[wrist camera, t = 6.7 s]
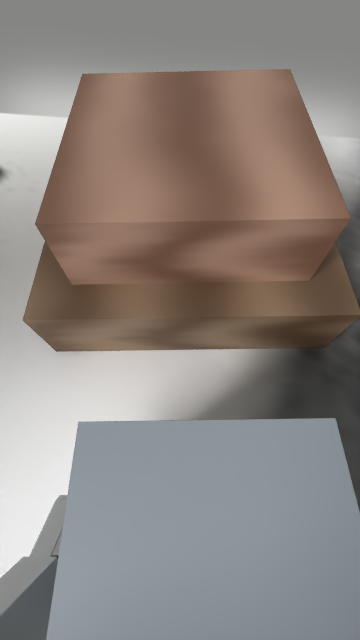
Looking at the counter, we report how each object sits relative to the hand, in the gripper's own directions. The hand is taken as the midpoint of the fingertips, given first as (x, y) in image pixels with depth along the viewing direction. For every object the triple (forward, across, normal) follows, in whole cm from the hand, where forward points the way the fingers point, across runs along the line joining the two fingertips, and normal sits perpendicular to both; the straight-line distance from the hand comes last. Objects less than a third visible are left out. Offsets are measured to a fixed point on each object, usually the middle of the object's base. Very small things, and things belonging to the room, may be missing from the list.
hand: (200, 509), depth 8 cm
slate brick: (+4, 0, +5) cm, 6 cm away
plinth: (+15, 0, -7) cm, 16 cm away
